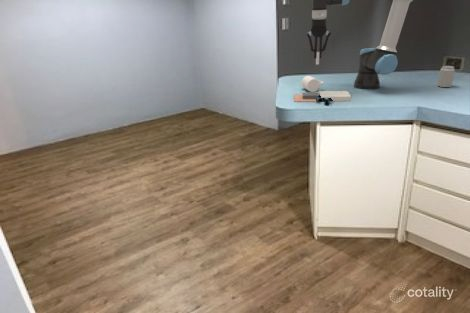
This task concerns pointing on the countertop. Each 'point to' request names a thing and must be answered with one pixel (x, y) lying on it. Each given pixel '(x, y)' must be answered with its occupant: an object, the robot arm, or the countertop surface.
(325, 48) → the robot arm
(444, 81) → the can
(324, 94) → the deck
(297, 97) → the mat
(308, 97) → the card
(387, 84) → the countertop surface
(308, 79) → the mug
